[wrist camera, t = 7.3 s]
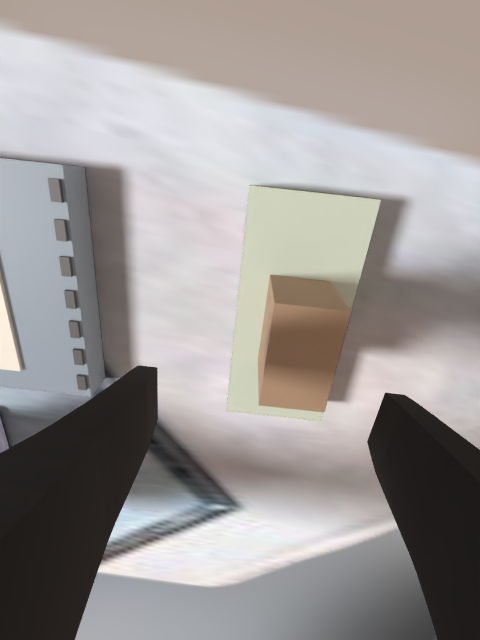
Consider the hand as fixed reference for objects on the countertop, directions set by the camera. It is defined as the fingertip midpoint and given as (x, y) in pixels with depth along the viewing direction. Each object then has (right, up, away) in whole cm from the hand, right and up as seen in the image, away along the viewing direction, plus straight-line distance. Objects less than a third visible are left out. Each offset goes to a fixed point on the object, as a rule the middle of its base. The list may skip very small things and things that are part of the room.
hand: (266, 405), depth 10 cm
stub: (+2, +3, +9) cm, 9 cm away
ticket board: (-14, +5, +9) cm, 18 cm away
